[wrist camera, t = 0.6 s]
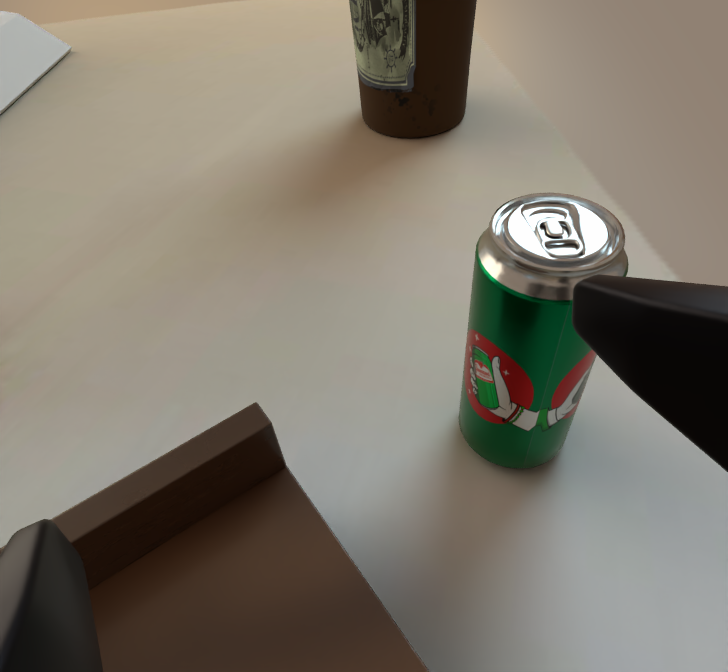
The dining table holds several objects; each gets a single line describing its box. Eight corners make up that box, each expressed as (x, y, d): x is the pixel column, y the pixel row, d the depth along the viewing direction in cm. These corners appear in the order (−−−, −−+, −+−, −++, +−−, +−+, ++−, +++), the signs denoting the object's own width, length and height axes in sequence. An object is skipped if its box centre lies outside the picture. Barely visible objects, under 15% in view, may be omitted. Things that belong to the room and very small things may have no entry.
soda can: (549, 385, 28) (609, 181, 20) (576, 472, 25) (663, 272, 16) (452, 390, 29) (468, 190, 20) (465, 477, 25) (492, 283, 16)
